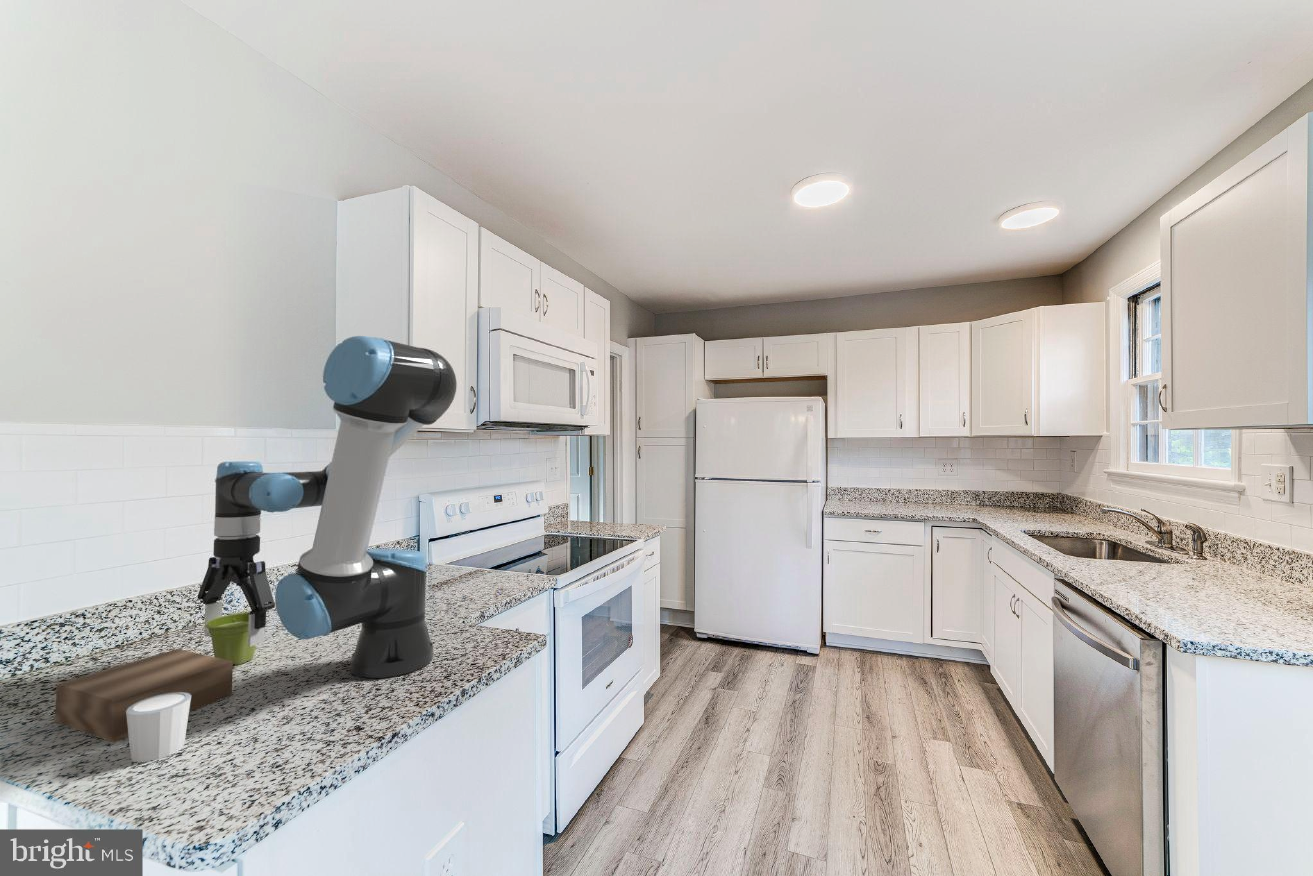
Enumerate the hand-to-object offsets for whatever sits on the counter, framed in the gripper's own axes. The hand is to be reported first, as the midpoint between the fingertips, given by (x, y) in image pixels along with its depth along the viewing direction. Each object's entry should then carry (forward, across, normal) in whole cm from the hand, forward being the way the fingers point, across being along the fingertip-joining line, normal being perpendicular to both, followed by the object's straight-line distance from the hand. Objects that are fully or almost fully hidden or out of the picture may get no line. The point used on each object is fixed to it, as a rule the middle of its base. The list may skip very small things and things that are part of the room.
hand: (234, 639), depth 108 cm
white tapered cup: (+4, -26, +25) cm, 36 cm away
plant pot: (+5, 0, 0) cm, 5 cm away
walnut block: (+4, -8, +18) cm, 20 cm away
